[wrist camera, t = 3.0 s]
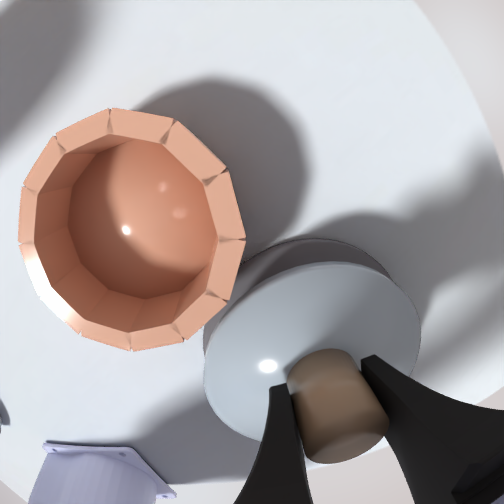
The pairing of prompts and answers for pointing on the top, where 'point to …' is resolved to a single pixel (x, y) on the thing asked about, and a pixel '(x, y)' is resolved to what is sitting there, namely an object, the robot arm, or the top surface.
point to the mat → (289, 267)
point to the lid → (312, 354)
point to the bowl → (131, 229)
